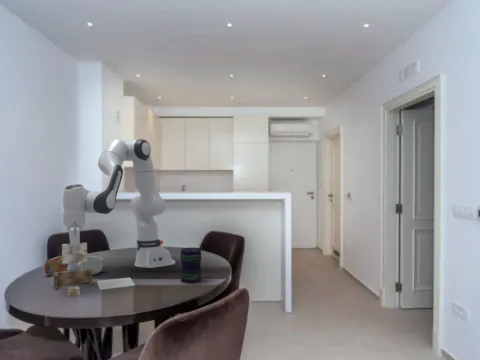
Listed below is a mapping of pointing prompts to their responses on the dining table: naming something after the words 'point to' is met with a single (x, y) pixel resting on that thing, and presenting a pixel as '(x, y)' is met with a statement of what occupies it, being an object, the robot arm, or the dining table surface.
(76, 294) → the offcut low
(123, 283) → the mat
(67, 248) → the cream rectangular block
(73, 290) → the offcut top
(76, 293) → the offcut mid
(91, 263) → the teacup
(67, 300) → the dining table surface
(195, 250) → the storage jar
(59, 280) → the frame
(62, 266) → the tin
